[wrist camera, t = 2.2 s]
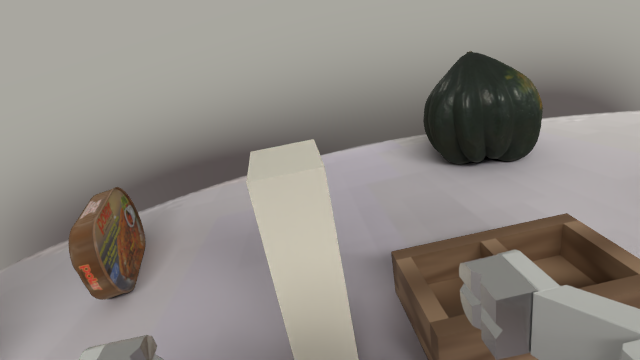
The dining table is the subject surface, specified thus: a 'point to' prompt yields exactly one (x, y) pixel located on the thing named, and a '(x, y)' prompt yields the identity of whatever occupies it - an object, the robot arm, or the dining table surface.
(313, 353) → the cream rectangular block
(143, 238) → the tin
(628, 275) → the walnut rack
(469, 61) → the squash
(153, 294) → the dining table surface
